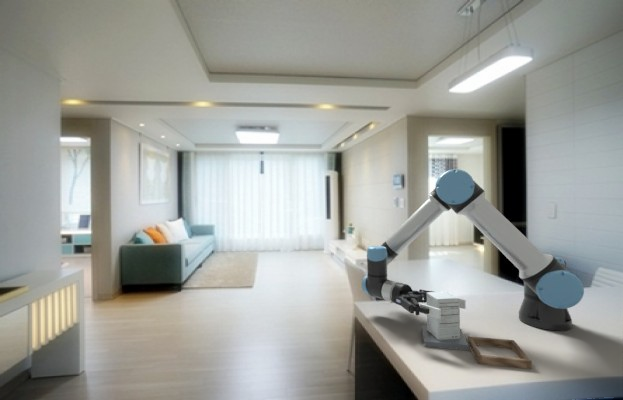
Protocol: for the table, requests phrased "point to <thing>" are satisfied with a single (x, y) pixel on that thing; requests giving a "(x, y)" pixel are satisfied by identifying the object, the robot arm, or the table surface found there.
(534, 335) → the table surface
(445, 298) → the supplement box
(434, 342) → the slate trivet
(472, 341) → the walnut holder
